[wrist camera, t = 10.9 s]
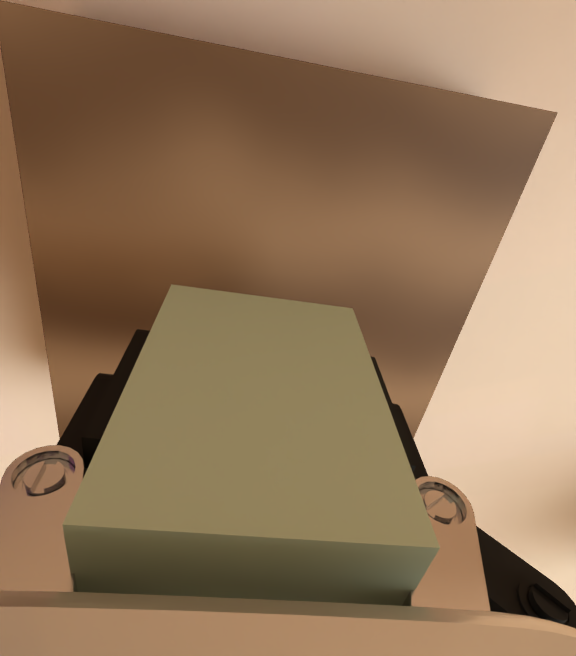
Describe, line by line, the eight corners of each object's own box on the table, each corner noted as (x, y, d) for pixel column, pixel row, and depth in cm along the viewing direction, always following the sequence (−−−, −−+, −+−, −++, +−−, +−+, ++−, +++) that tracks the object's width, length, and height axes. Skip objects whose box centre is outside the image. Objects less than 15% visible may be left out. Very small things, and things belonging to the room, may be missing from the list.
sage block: (171, 284, 11) (61, 524, 5) (352, 308, 12) (439, 547, 6) (167, 422, 14) (89, 690, 8) (317, 436, 14) (352, 695, 8)
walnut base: (71, 19, 15) (-7, -1, 11) (485, 102, 17) (557, 112, 13) (98, 372, 23) (60, 439, 19) (377, 402, 25) (399, 469, 21)
